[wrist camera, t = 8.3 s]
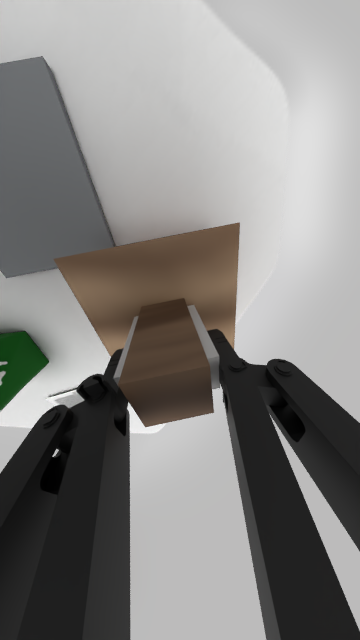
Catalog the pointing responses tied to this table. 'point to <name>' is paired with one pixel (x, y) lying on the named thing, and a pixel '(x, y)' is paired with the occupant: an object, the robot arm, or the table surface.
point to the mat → (42, 176)
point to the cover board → (157, 280)
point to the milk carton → (17, 364)
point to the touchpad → (66, 399)
